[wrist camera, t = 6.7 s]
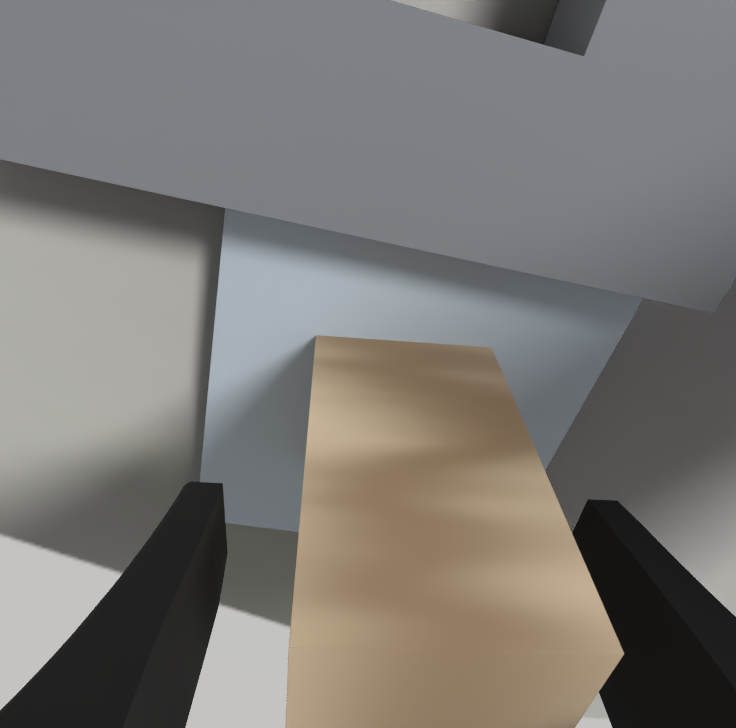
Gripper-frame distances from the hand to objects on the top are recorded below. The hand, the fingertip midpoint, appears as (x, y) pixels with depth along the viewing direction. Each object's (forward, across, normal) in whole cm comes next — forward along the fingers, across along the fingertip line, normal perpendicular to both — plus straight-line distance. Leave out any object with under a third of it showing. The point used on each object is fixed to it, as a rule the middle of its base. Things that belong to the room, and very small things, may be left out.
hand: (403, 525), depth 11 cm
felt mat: (+4, 0, 0) cm, 4 cm away
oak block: (+3, 0, 0) cm, 3 cm away
